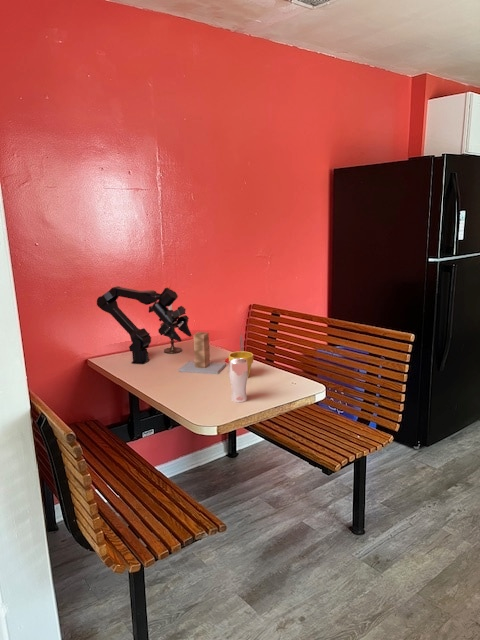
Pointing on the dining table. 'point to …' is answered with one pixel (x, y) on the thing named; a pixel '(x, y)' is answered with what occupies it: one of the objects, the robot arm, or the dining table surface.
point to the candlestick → (172, 349)
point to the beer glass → (238, 379)
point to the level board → (211, 369)
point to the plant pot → (243, 355)
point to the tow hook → (241, 348)
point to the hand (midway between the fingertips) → (186, 338)
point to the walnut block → (201, 350)
